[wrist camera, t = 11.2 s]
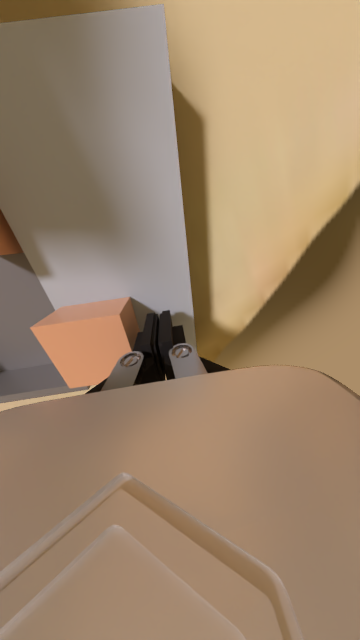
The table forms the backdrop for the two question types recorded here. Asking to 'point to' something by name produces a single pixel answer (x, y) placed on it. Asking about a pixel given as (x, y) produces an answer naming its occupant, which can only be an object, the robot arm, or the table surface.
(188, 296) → the grey sliding lid
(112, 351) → the tile
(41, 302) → the tray
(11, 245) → the orange block
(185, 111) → the table surface
